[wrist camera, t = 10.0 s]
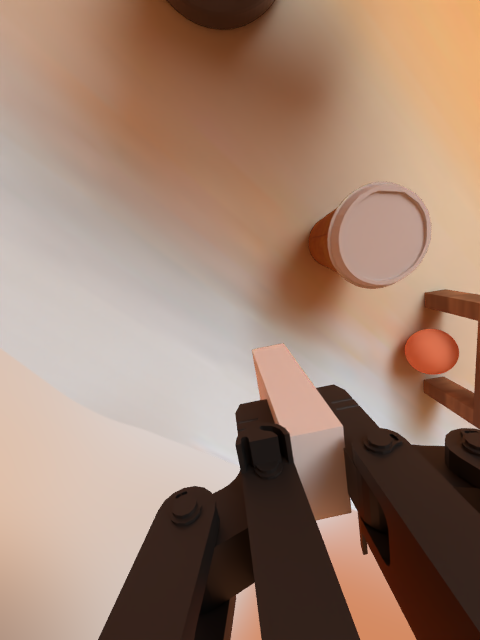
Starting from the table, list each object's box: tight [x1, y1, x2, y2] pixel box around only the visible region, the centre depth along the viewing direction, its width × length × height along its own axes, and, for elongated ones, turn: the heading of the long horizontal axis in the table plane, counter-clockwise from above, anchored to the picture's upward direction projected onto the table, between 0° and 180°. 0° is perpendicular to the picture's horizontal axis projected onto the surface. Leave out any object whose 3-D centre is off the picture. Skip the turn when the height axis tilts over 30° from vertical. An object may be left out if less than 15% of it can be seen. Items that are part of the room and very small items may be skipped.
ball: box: [405, 329, 459, 374], centre depth 39 cm, size 6×6×6 cm
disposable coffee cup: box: [309, 182, 431, 289], centre depth 32 cm, size 10×10×12 cm
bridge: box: [424, 290, 480, 429], centre depth 38 cm, size 3×15×10 cm, turn 8°
